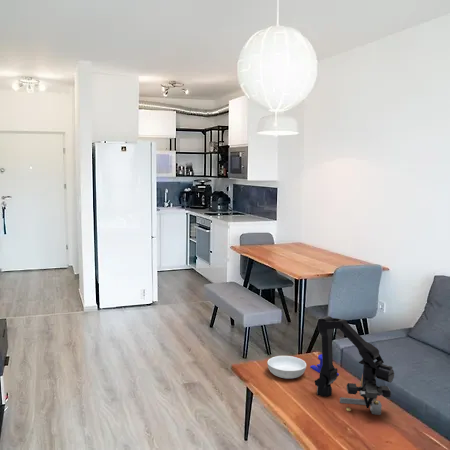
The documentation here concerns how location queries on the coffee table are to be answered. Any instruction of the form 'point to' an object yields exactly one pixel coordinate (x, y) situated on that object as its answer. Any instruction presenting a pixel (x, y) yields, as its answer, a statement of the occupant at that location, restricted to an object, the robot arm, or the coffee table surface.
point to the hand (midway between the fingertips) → (367, 407)
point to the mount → (318, 365)
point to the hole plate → (352, 402)
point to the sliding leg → (375, 407)
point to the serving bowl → (286, 366)
